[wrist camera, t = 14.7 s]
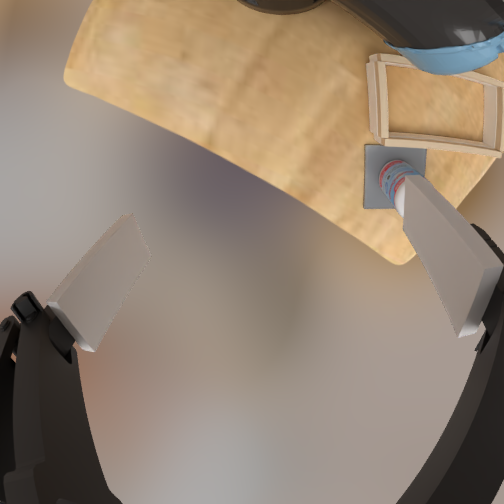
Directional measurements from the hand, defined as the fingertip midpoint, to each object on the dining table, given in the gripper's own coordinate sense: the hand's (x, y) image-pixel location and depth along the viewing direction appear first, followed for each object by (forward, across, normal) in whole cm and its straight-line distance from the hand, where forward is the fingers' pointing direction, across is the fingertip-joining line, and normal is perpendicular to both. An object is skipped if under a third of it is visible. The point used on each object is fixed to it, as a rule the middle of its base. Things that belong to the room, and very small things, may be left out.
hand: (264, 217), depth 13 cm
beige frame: (+28, +24, +2) cm, 37 cm away
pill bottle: (+28, +16, -10) cm, 33 cm away
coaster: (+28, +16, -10) cm, 34 cm away
